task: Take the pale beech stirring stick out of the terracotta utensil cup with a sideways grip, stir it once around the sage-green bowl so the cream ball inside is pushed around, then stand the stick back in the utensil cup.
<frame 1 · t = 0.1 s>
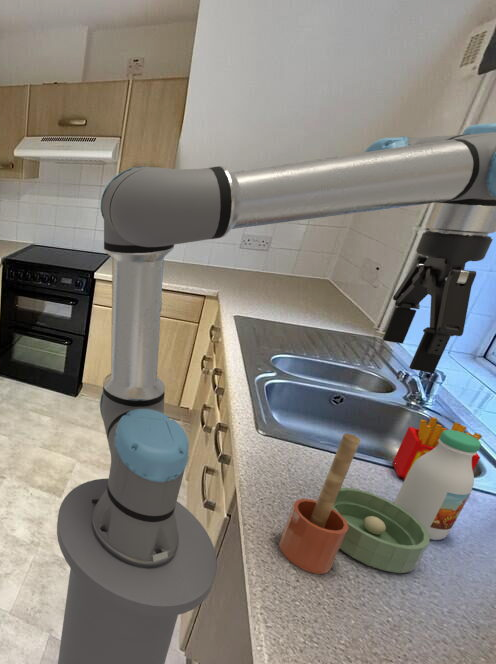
hand: (405, 355, 72), 33 cm above the counter, tool pointing down, fingers open, 13 cm apart
french fries container: (423, 480, 90), on the counter
utensil cup: (304, 554, 71), on the counter
milk bottle: (416, 525, 78), on the counter
ball: (374, 525, 75), point 2 cm above the counter, touching bowl
bowl: (363, 540, 74), on the counter
stirring stick: (305, 552, 71), resting on utensil cup
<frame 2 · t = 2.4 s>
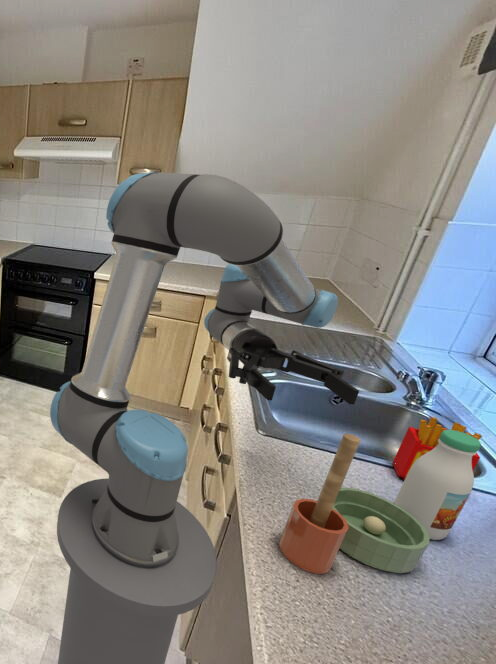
hand: (312, 395, 71), 26 cm above the counter, tool horizontal, fingers open, 13 cm apart
nothing on the counter moved.
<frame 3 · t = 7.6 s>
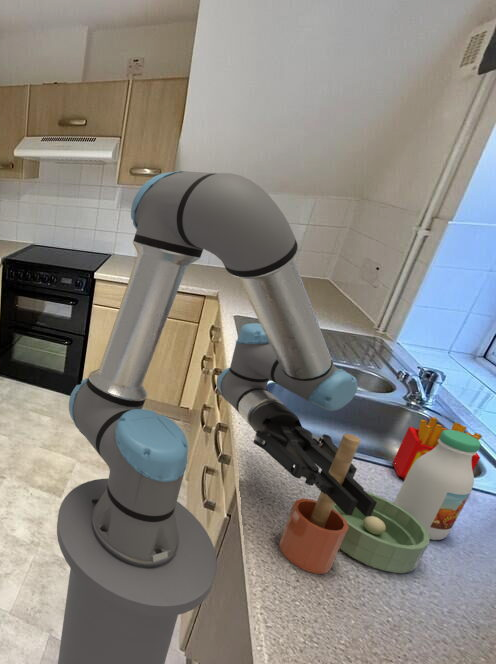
hand: (361, 508, 61), 16 cm above the counter, tool horizontal, fingers closed on stirring stick, 2 cm apart
stirring stick: (305, 552, 71), resting on utensil cup, touching gripper
everything else where it was.
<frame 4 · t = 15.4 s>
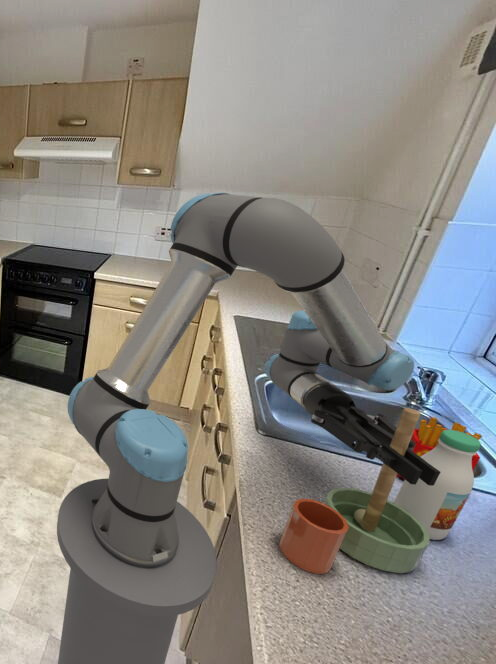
hand: (425, 477, 65), 17 cm above the counter, tool horizontal, fingers closed on stirring stick, 2 cm apart
ball: (364, 517, 77), point 2 cm above the counter, tilted 55°, touching bowl
stirring stick: (367, 527, 75), point 2 cm above the counter, touching gripper
everything else where it was.
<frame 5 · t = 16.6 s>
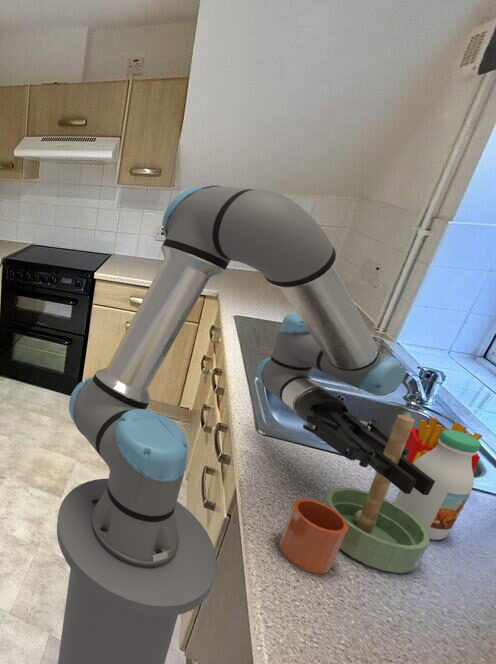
hand: (419, 487, 63), 17 cm above the counter, tool horizontal, fingers closed on stirring stick, 2 cm apart
ball: (364, 519, 76), point 2 cm above the counter, tilted 45°, touching bowl
stirring stick: (360, 537, 73), point 2 cm above the counter, touching gripper
everything else where it was.
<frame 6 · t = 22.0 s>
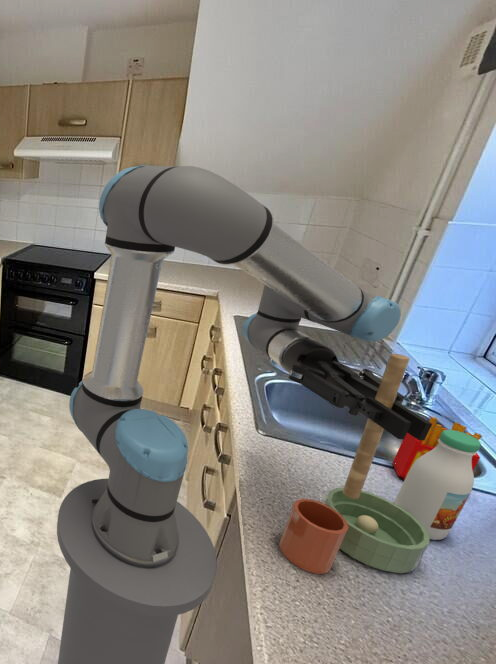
hand: (414, 431, 56), 29 cm above the counter, tool horizontal, fingers closed on stirring stick, 2 cm apart
ball: (367, 524, 75), point 2 cm above the counter, tilted 21°, touching bowl
stirring stick: (350, 494, 66), point 14 cm above the counter, touching gripper
everything else where it was.
when the fingers open (16 cm above the counter, at t = 26.0 s): stirring stick stays where it is, resting on utensil cup.
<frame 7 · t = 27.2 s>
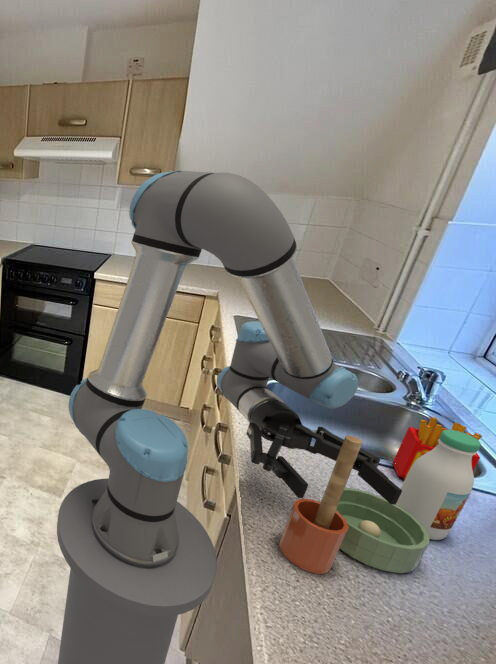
hand: (349, 494, 63), 16 cm above the counter, tool horizontal, fingers open, 13 cm apart
ball: (369, 529, 74), point 2 cm above the counter, tilted 64°, touching bowl
stirring stick: (309, 556, 70), point 1 cm above the counter, touching utensil cup
everything else where it was.
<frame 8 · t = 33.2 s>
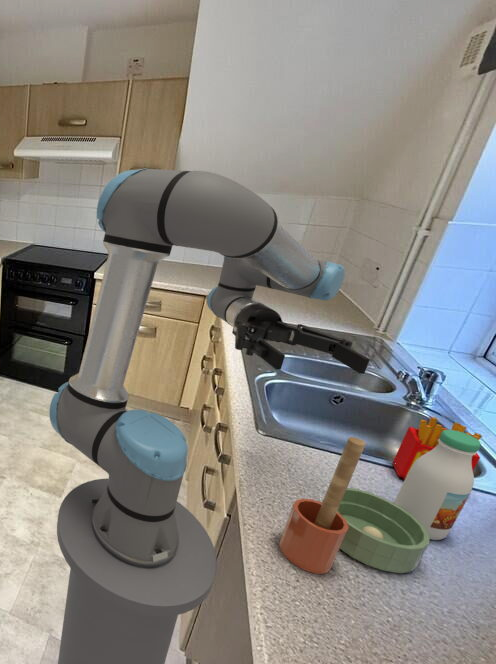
hand: (322, 364, 69), 32 cm above the counter, tool horizontal, fingers open, 13 cm apart
ball: (371, 535, 73), point 2 cm above the counter, tilted 120°, touching bowl
everything else where it was.
at the end: ball moved 3.5 cm from its start; ball 0.8 cm from the bowl (horizontally); stirring stick 0.8 cm from the utensil cup (horizontally) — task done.
